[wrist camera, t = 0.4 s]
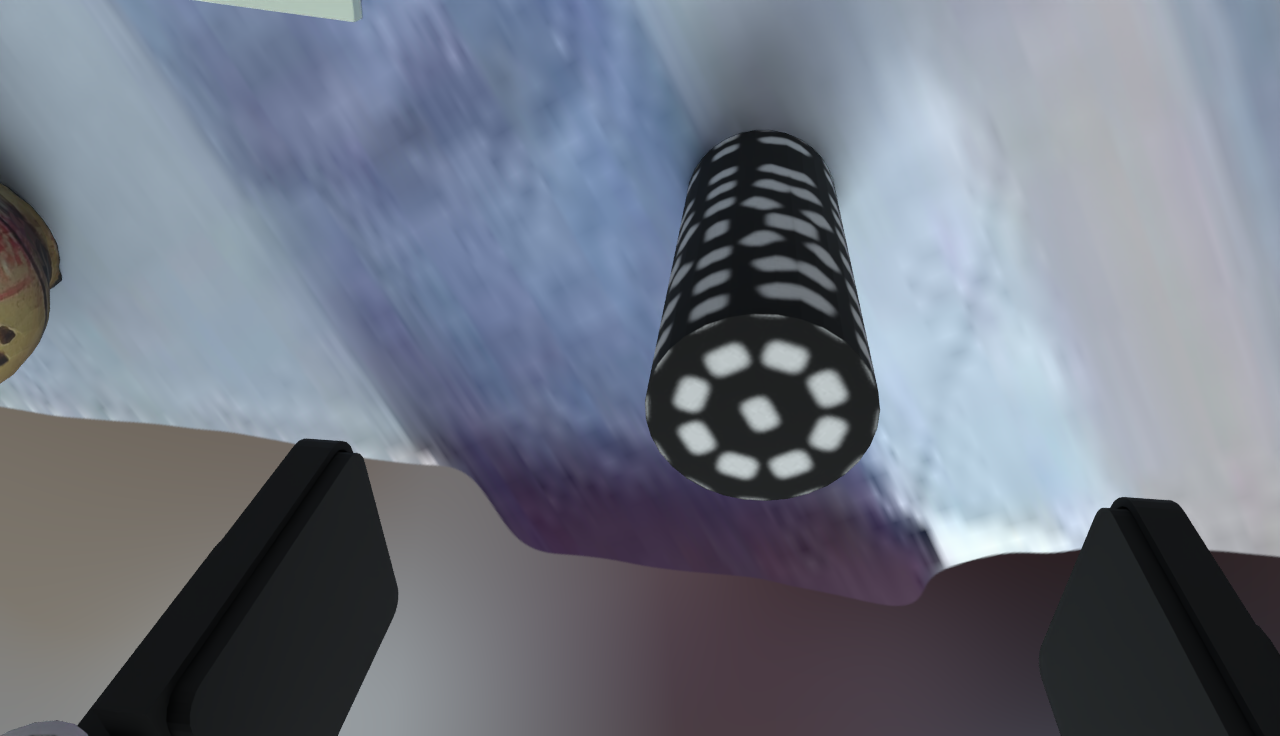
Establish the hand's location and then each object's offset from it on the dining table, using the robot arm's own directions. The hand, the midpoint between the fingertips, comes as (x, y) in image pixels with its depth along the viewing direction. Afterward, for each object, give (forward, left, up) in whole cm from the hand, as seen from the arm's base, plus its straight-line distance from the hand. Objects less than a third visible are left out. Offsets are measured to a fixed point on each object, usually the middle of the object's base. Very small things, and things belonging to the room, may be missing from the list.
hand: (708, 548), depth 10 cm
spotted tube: (+9, +2, -36) cm, 37 cm away
